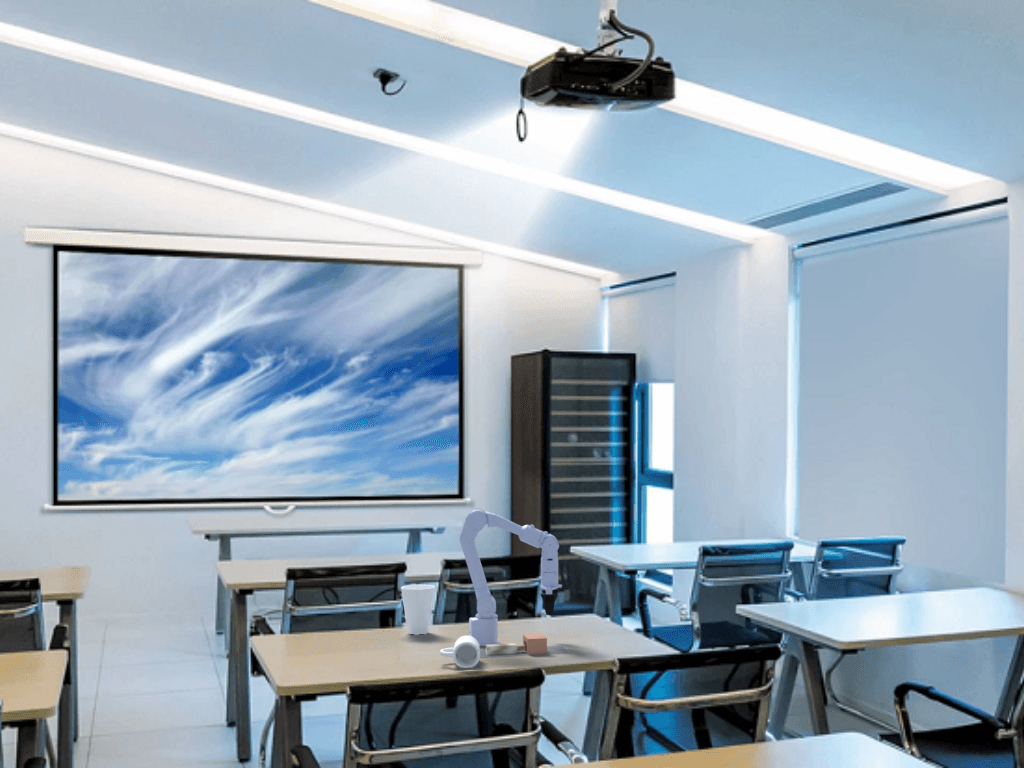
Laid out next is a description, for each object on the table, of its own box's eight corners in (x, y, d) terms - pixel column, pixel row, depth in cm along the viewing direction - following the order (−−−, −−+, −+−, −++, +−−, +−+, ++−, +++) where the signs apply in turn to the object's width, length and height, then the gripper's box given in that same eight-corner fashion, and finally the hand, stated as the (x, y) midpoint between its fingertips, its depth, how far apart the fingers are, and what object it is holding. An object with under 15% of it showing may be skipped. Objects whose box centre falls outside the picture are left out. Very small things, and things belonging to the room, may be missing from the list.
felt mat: (469, 659, 323) (469, 658, 323) (464, 651, 334) (464, 650, 334) (571, 654, 329) (571, 653, 329) (562, 646, 340) (562, 645, 340)
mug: (480, 661, 320) (479, 635, 320) (480, 669, 310) (479, 641, 310) (440, 662, 320) (440, 635, 320) (439, 669, 310) (439, 642, 310)
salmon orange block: (528, 654, 327) (528, 639, 327) (523, 649, 335) (522, 634, 335) (547, 653, 328) (546, 638, 328) (541, 648, 336) (541, 633, 336)
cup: (398, 631, 370) (397, 585, 370) (431, 629, 373) (430, 583, 374) (404, 637, 358) (404, 590, 359) (438, 635, 362) (438, 588, 363)
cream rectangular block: (487, 654, 327) (486, 646, 327) (485, 653, 330) (485, 644, 330) (525, 652, 330) (525, 644, 330) (523, 651, 332) (523, 642, 332)
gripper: (561, 574, 340) (561, 617, 339) (562, 568, 354) (562, 609, 354) (539, 574, 340) (539, 616, 340) (541, 568, 355) (541, 609, 354)
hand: (549, 613), depth 347 cm, fingers open, 7 cm apart
